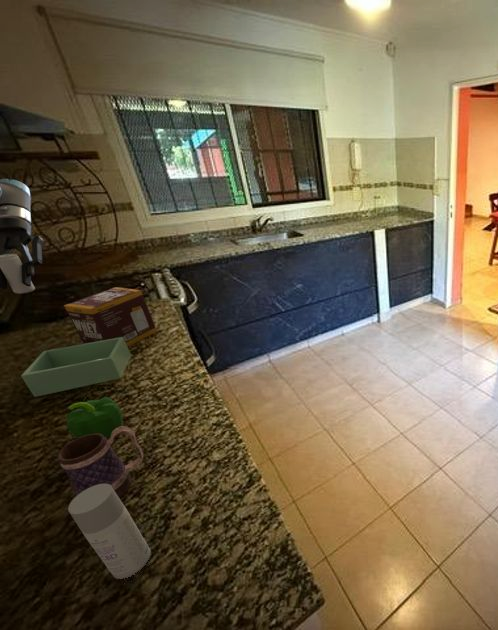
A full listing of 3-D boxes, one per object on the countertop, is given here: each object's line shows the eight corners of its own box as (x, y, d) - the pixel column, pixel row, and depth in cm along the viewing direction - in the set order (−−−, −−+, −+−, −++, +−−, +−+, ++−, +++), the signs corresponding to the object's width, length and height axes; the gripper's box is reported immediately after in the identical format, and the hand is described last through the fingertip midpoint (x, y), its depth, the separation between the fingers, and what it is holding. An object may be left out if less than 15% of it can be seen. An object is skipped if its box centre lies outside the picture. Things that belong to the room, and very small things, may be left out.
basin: (34, 397, 86) (20, 375, 83) (54, 370, 96) (43, 351, 93) (121, 378, 93) (111, 358, 90) (131, 355, 103) (123, 336, 101)
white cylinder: (13, 295, 109) (-8, 258, 103) (16, 291, 112) (-4, 255, 107) (34, 291, 111) (15, 256, 106) (36, 287, 115) (18, 252, 109)
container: (111, 587, 49) (63, 522, 43) (113, 558, 53) (69, 494, 46) (151, 566, 52) (112, 501, 45) (151, 540, 55) (114, 476, 48)
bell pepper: (135, 418, 80) (118, 383, 75) (122, 444, 73) (102, 407, 68) (90, 427, 77) (70, 392, 73) (72, 455, 70) (48, 418, 66)
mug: (84, 518, 58) (51, 469, 53) (82, 491, 63) (51, 443, 58) (156, 482, 65) (133, 435, 59) (150, 459, 69) (127, 414, 64)
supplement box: (85, 351, 106) (62, 305, 99) (133, 328, 119) (116, 286, 112) (111, 355, 103) (89, 309, 96) (157, 331, 117) (141, 289, 110)
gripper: (-35, 218, 106) (-37, 285, 100) (42, 214, 113) (44, 276, 108) (-16, 232, 113) (-17, 295, 107) (56, 227, 120) (59, 286, 114)
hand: (14, 285), depth 107 cm, fingers closed on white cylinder, 5 cm apart
